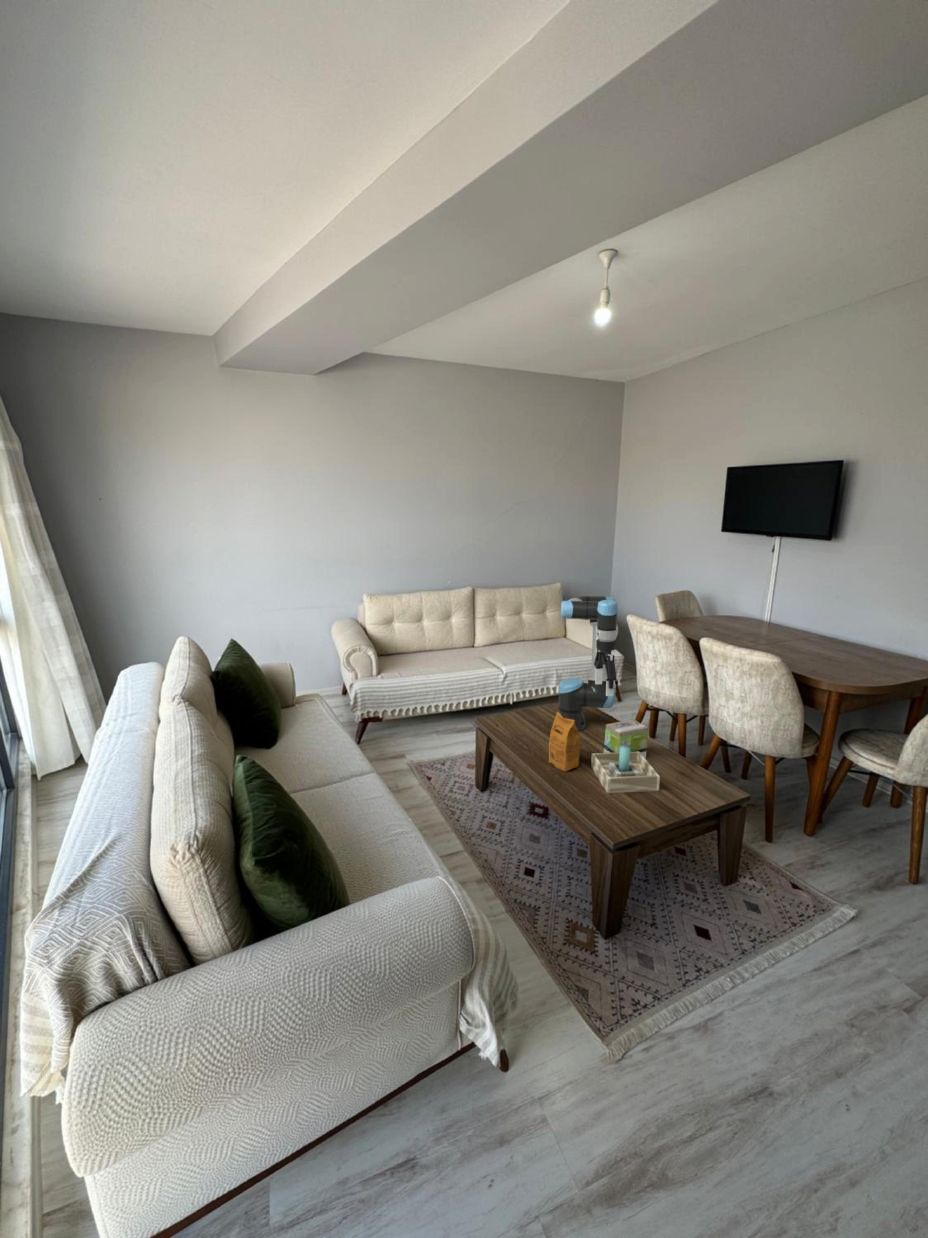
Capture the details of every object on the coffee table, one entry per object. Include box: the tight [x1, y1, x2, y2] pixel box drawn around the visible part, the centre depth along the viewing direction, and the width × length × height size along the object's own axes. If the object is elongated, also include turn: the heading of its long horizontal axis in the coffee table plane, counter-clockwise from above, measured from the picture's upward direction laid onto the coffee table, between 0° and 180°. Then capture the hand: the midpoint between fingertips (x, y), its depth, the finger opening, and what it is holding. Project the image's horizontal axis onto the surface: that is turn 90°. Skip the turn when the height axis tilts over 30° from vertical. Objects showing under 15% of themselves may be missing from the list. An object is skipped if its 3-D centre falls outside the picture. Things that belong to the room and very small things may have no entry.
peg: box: [619, 746, 630, 772], centre depth 199 cm, size 4×4×12 cm
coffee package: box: [548, 711, 581, 772], centre depth 210 cm, size 10×12×22 cm
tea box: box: [603, 718, 649, 759], centre depth 216 cm, size 15×10×15 cm, turn 112°
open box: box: [590, 751, 661, 794], centre depth 200 cm, size 20×20×6 cm
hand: (603, 689), depth 206 cm, fingers open, 13 cm apart
